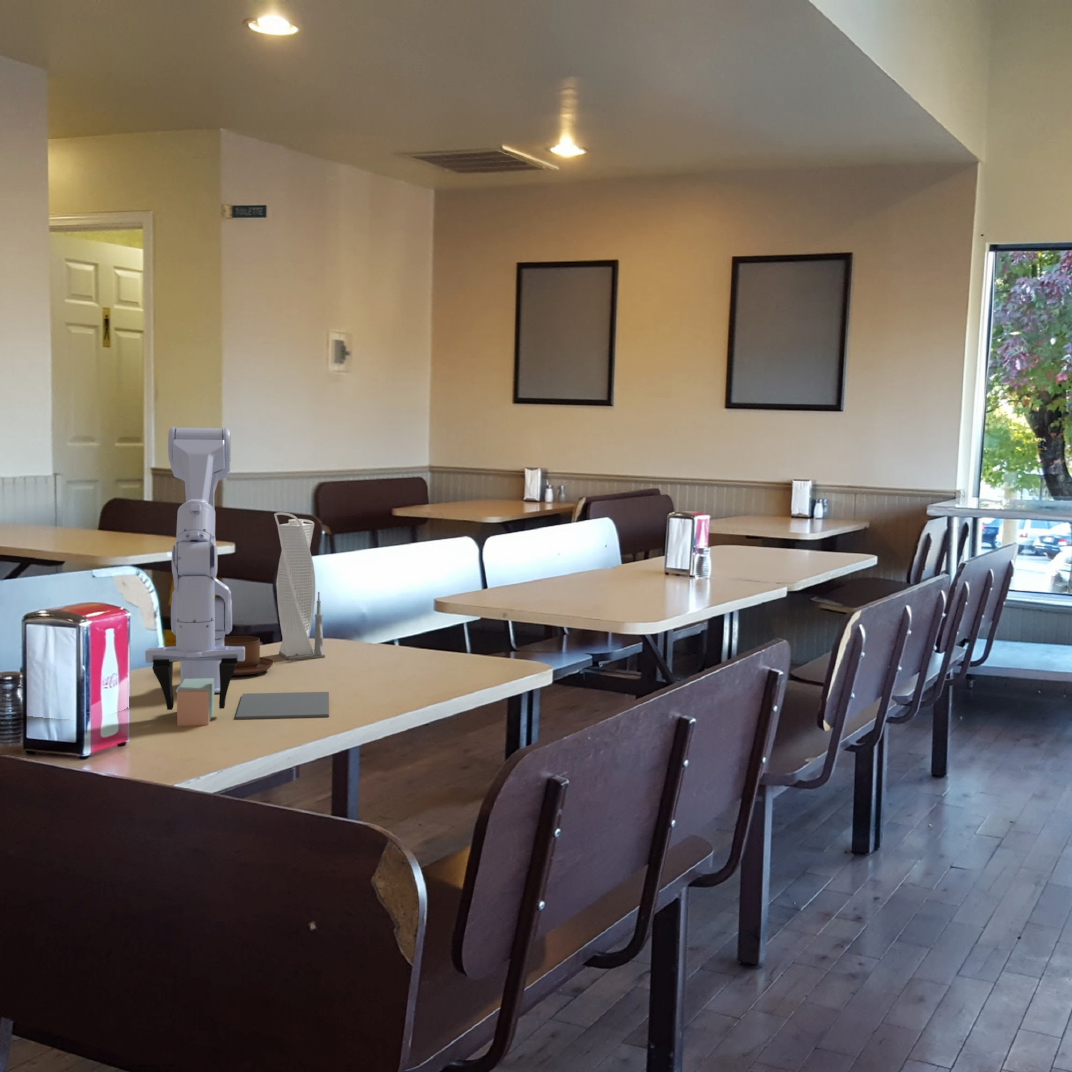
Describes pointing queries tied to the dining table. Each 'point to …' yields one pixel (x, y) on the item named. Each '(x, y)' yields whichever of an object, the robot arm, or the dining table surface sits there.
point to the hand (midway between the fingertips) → (196, 707)
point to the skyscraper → (297, 591)
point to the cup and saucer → (248, 655)
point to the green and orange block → (195, 702)
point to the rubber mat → (283, 705)
